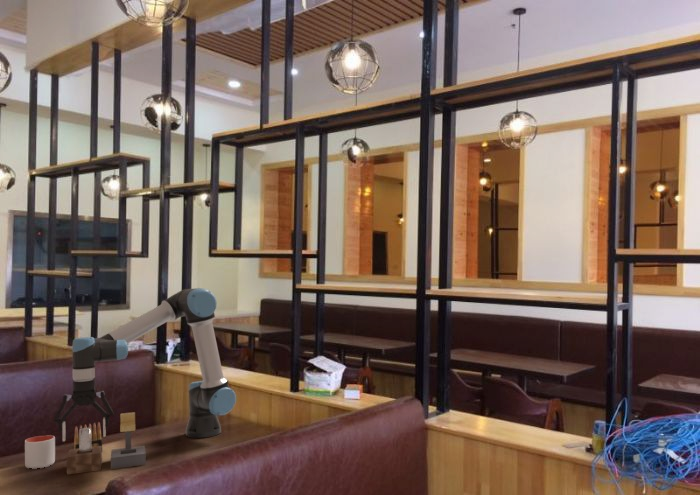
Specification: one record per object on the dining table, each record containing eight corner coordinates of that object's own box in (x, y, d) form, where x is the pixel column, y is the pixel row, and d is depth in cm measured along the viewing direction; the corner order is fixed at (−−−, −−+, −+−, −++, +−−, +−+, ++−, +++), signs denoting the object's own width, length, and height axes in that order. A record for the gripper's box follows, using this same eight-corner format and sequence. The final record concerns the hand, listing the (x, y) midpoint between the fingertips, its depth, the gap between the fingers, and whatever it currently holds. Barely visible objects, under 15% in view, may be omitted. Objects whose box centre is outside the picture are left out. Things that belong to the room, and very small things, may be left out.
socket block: (144, 456, 234) (144, 418, 235) (145, 464, 223) (145, 425, 224) (111, 460, 230) (111, 422, 231) (110, 469, 219) (110, 429, 220)
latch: (135, 424, 225) (134, 412, 225) (135, 430, 215) (135, 417, 216) (120, 426, 223) (120, 413, 223) (120, 432, 214) (120, 419, 214)
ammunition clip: (75, 458, 235) (74, 426, 235) (73, 457, 236) (72, 426, 237) (102, 452, 242) (102, 421, 243) (100, 451, 244) (100, 421, 244)
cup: (34, 471, 219) (34, 443, 220) (19, 467, 225) (19, 440, 225) (60, 463, 228) (60, 437, 228) (45, 460, 233) (45, 434, 234)
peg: (91, 465, 224) (91, 427, 225) (90, 468, 220) (90, 429, 221) (79, 467, 223) (79, 428, 223) (78, 470, 219) (78, 430, 220)
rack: (101, 461, 228) (101, 445, 229) (100, 470, 218) (100, 453, 218) (69, 465, 225) (69, 449, 225) (66, 474, 214) (66, 457, 215)
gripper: (120, 375, 231) (120, 431, 230) (47, 381, 222) (48, 439, 221) (119, 378, 224) (120, 436, 223) (44, 384, 215) (45, 444, 214)
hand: (84, 438), depth 222 cm, fingers open, 13 cm apart
